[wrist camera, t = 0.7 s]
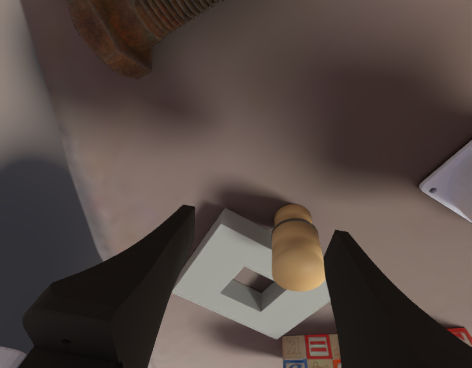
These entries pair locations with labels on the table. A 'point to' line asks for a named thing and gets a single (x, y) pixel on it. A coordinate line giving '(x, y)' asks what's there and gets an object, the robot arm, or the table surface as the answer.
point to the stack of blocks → (327, 349)
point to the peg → (296, 250)
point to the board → (236, 294)
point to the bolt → (130, 28)
